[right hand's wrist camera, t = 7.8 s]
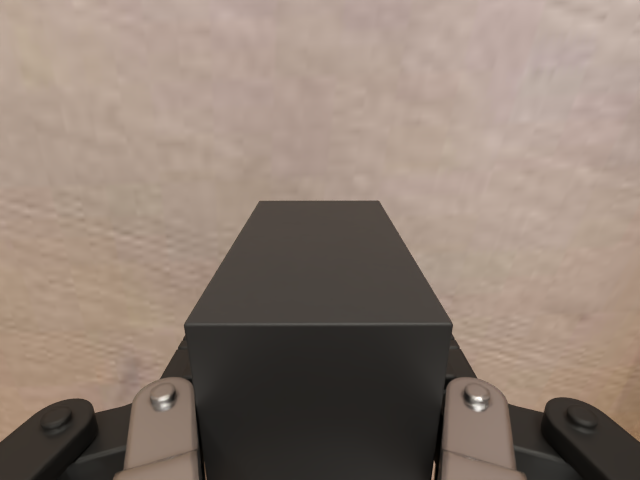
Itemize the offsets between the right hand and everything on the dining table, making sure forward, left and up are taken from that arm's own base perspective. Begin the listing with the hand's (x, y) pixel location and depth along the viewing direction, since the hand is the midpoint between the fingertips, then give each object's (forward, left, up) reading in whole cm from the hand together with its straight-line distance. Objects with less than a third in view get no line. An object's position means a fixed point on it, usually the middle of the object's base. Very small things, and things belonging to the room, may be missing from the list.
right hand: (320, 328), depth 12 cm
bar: (+3, +9, -5) cm, 11 cm away
